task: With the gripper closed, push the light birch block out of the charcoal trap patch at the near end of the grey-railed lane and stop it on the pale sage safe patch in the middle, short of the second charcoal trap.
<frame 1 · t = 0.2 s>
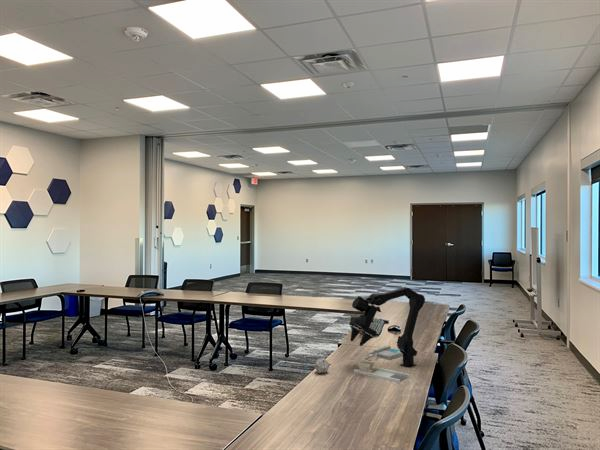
hand: (355, 343, 224), 15 cm above the table, tool tilted 30°, fingers open, 9 cm apart
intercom: (383, 357, 250), on the table
trap lane: (381, 374, 218), on the table
birch block: (367, 371, 224), resting on trap lane
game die: (321, 373, 222), on the table
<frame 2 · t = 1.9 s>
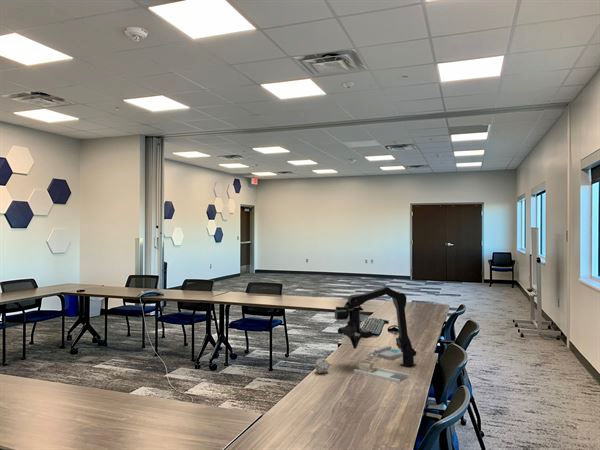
hand: (354, 348, 229), 11 cm above the table, tool pointing down, fingers closed
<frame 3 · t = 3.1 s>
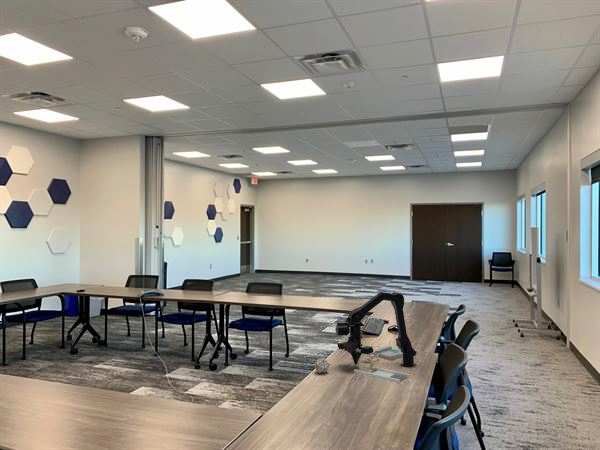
hand: (355, 364, 229), 2 cm above the table, tool pointing down, fingers closed
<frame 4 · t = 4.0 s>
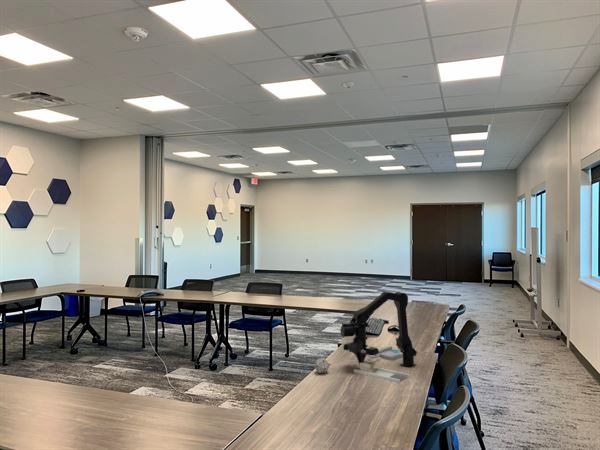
hand: (360, 365, 227), 2 cm above the table, tool pointing down, fingers closed
birch block: (367, 371, 224), resting on trap lane, touching gripper
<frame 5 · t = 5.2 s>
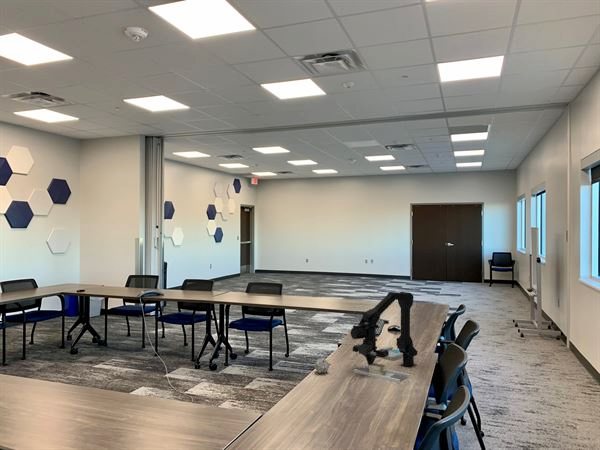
hand: (370, 367, 223), 3 cm above the table, tool pointing down, fingers closed
birch block: (377, 373, 219), resting on trap lane, touching gripper
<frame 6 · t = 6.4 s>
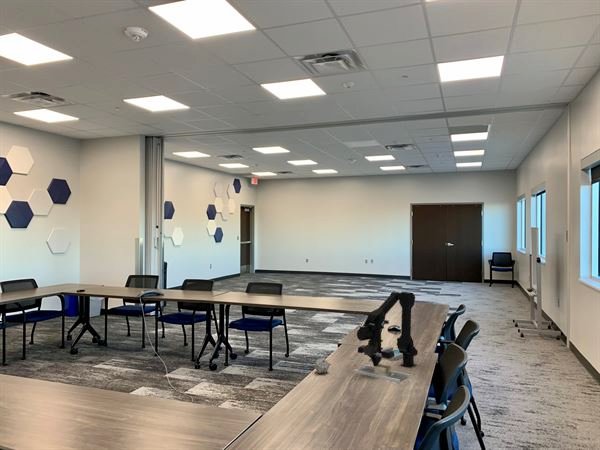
hand: (375, 368, 220), 3 cm above the table, tool pointing down, fingers closed
birch block: (382, 375, 217), resting on trap lane, touching gripper
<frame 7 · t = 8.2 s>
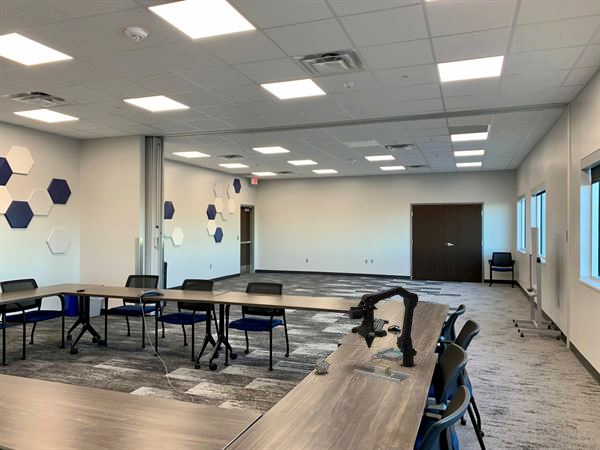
hand: (369, 348, 228), 11 cm above the table, tool pointing down, fingers closed
birch block: (382, 375, 217), resting on trap lane
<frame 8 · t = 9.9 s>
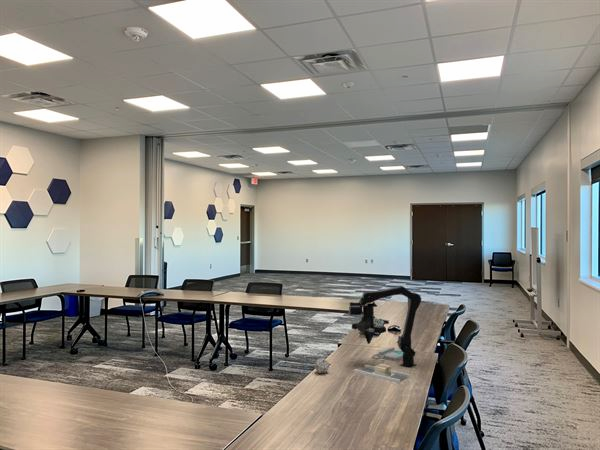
hand: (368, 343, 234), 12 cm above the table, tool pointing down, fingers closed
at the end: birch block 0.9 cm from the target spot, resting on trap lane; birch block tilted 0° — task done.
